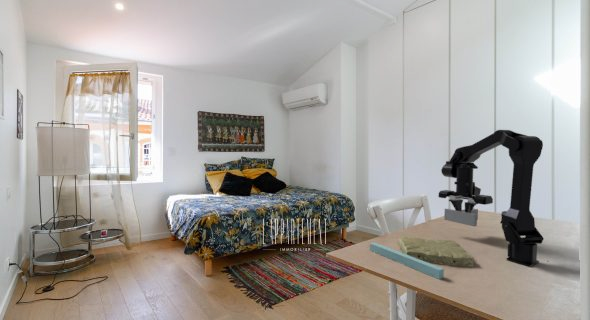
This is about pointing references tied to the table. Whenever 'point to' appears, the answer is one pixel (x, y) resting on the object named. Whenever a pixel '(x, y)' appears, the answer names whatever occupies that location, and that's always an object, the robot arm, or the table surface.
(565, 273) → the table surface
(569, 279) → the table surface
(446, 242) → the decorative tile
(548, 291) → the table surface
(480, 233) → the table surface
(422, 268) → the bar
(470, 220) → the grey piece
